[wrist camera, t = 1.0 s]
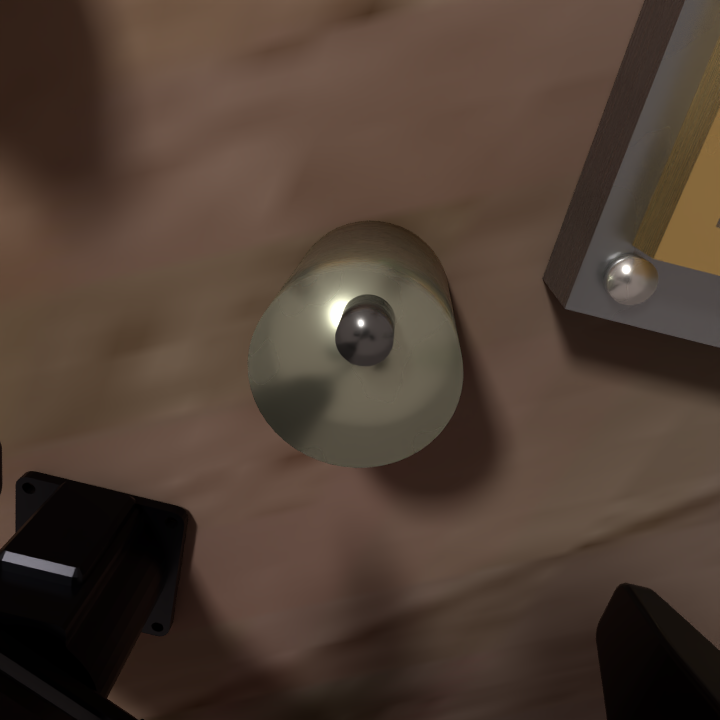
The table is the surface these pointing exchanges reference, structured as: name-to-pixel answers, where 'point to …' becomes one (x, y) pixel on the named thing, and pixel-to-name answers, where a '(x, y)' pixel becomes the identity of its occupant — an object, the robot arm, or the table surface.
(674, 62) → the grey gold-framed plate fixture
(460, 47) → the table surface
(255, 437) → the table surface
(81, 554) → the robot arm
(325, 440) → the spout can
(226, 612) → the table surface
